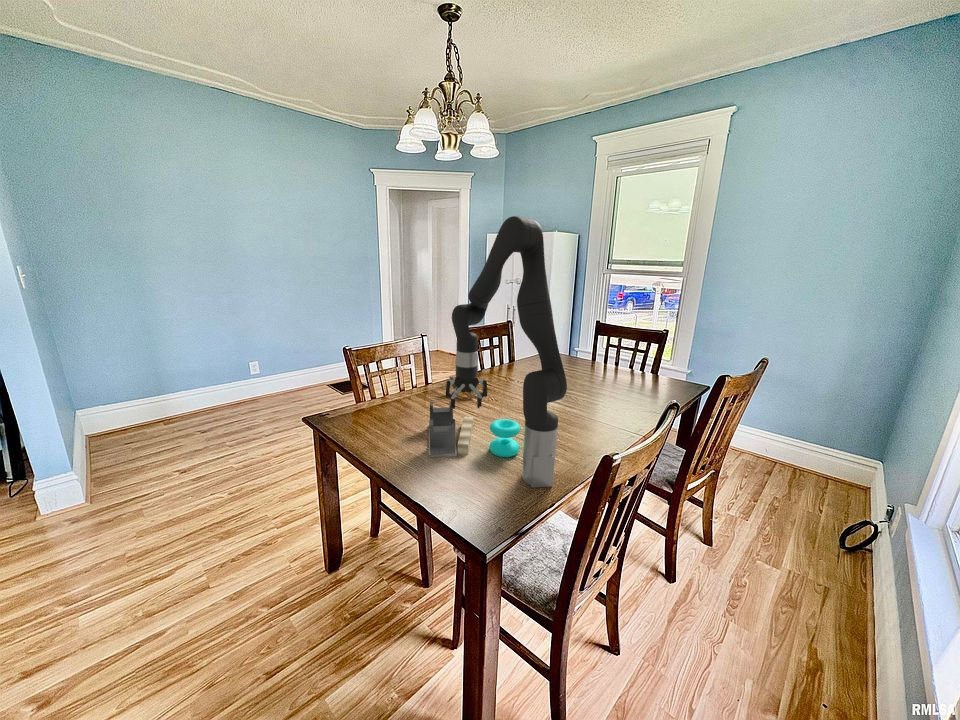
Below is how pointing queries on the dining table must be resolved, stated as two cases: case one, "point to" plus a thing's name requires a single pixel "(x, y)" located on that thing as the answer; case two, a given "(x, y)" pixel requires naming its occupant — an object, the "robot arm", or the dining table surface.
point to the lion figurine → (455, 387)
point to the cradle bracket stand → (442, 432)
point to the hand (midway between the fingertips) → (466, 407)
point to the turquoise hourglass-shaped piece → (504, 437)
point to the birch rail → (465, 435)
